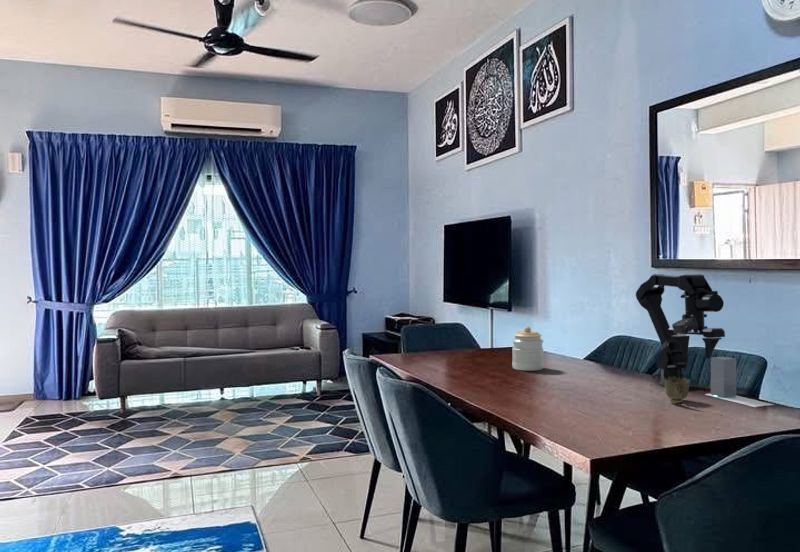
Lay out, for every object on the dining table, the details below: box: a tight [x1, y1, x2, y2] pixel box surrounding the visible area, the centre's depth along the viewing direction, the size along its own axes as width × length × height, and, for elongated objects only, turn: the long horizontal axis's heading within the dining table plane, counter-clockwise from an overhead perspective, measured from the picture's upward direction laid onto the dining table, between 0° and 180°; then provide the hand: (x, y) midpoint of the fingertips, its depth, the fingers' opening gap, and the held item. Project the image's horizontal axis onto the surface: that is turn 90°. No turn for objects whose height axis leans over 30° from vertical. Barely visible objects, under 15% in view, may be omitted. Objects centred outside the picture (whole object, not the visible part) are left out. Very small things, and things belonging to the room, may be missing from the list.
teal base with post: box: [710, 393, 737, 399], centre depth 200 cm, size 7×7×4 cm
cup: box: [664, 376, 691, 406], centre depth 193 cm, size 8×7×8 cm
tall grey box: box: [710, 356, 737, 397], centre depth 199 cm, size 5×5×12 cm
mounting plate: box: [704, 393, 775, 408], centre depth 194 cm, size 19×8×1 cm, turn 19°
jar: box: [511, 326, 544, 372], centre depth 259 cm, size 13×13×18 cm
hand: (696, 357), depth 209 cm, fingers open, 9 cm apart
